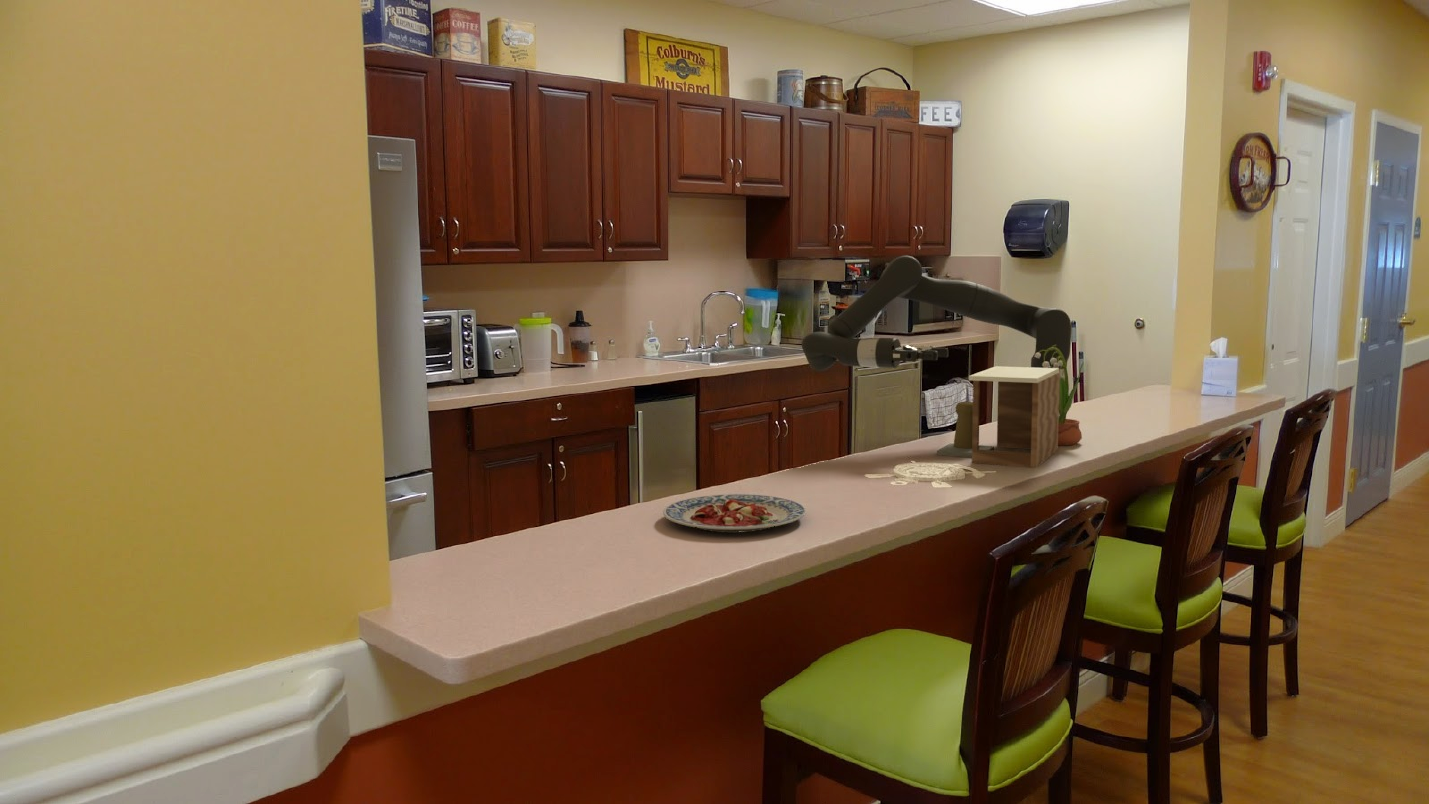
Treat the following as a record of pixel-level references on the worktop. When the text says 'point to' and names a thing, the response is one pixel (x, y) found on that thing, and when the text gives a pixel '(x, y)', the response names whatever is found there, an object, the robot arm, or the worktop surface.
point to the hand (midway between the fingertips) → (942, 354)
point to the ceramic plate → (734, 512)
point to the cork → (964, 425)
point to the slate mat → (960, 450)
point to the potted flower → (1064, 402)
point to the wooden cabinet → (1020, 415)
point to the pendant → (929, 473)
